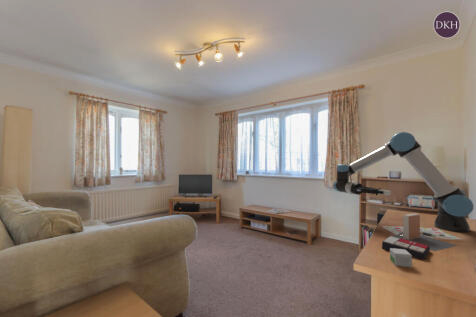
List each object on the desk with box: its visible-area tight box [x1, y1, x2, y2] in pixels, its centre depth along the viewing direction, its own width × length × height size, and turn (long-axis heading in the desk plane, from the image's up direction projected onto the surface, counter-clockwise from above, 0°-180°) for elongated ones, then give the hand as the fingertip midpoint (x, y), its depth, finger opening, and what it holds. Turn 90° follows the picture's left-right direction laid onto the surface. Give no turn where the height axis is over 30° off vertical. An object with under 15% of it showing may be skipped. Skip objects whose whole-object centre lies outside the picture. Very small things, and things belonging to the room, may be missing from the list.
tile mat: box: [387, 233, 459, 252], centre depth 108 cm, size 18×20×1 cm
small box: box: [389, 248, 413, 268], centre depth 85 cm, size 6×6×5 cm
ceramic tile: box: [402, 212, 421, 240], centre depth 112 cm, size 9×3×12 cm, turn 111°
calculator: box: [381, 235, 431, 261], centre depth 97 cm, size 11×4×15 cm
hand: (390, 193), depth 123 cm, fingers closed
